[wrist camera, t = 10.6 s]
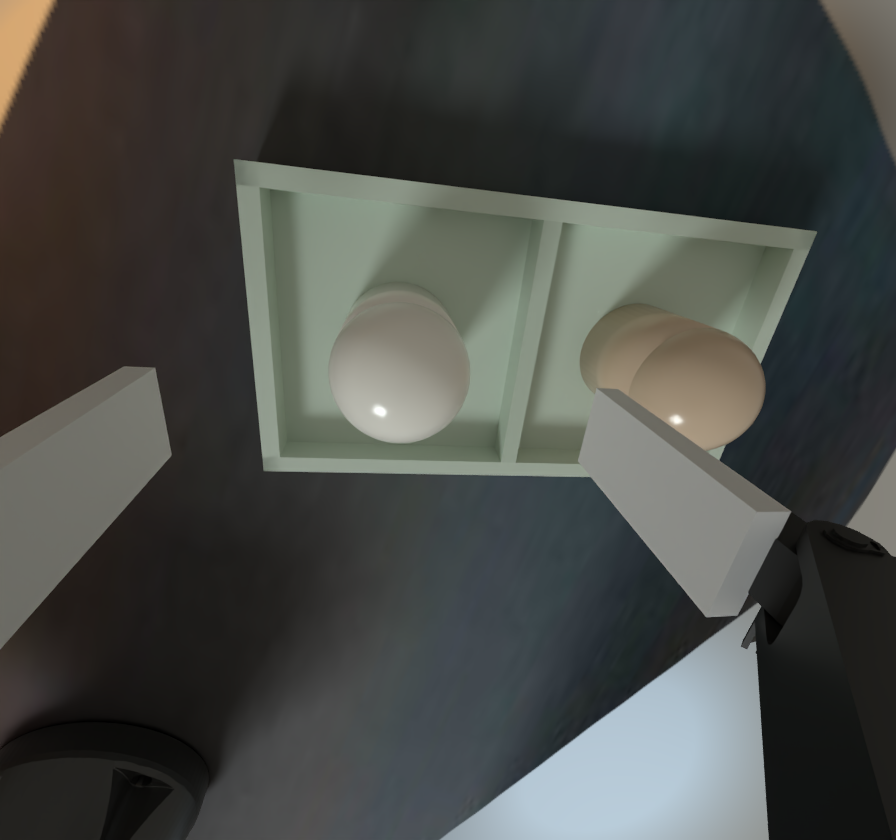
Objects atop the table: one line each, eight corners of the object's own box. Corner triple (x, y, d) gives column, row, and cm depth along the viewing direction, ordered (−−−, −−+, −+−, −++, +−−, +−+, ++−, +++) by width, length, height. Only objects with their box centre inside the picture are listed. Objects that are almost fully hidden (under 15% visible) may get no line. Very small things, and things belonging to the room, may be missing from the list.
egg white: (344, 386, 21) (319, 468, 14) (343, 277, 19) (313, 311, 12) (448, 391, 22) (472, 472, 15) (459, 286, 20) (492, 324, 13)
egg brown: (569, 398, 23) (645, 475, 16) (593, 299, 21) (692, 341, 14) (657, 402, 24) (765, 478, 17) (689, 307, 22) (827, 351, 15)
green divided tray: (275, 446, 23) (263, 471, 21) (252, 165, 17) (233, 158, 15) (685, 457, 27) (710, 479, 25) (774, 229, 21) (817, 231, 19)
